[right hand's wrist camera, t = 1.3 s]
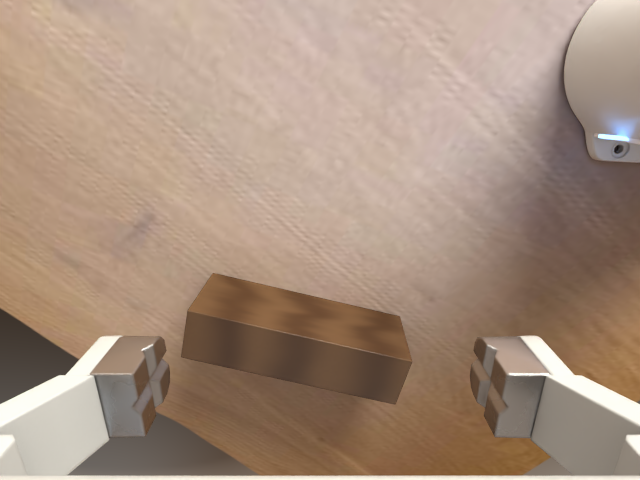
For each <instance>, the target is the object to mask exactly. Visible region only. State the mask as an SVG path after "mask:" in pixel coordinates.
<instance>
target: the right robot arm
mask: <svg viewBox="0 0 640 480" xmlns="http://www.w3.org/2000/svg"><path fill="white" fill-rule="evenodd" d="M564 85H565V92H566V96H567V99H568V102H569V104H570V107H571V109H572V111H573V112H574V114H575V115H576V117H577V118H578V120H579V121H580V123H581V124H582V126H583V128H584V130H585V137H586V145H587V150H588V153H589V155H590V157H591V158H593V159H595V160H599V161H614V162H635V163H640V0H596V1H595V2H594V3H593V4H592V6H591V7H590V8H589V9H588V11H587V12H586V13H585V15H584V16H583V18H582V19H581V21H580V23H579V24H578V26H577V28H576V30H575V32H574V34H573V36H572V39H571V42H570V44H569V47H568V51H567V55H566V60H565V67H564ZM617 145H618V146H619V148H618V150H617V151H616V152H614V148H615V147H616V146H617ZM165 352H166V346H165V341H164V339H163V338H162V337H155V336H103V337H100V338H99V339H98V340H97V341H96V342H95V343H94V344H93V345H92V347H91V348H90V349H89V350H88V351H87V352H86V353H85V354H84V355H83V357H82V358H81V359H80V360H79V361H78V362H77V363H76V364H75V365H74V366H73V368H72V369H71V370H70V371H69V372H68V373H67V374H66V375H59V376H57V377H55V378H53V379H51V380H49V381H47V382H45V383H43V384H41V385H39V386H37V387H35V388H32V389H30V390H28V391H26V392H24V393H22V394H20V395H18V396H16V397H14V398H12V399H10V400H8V401H6V402H4V403H2V404H0V480H640V404H638V403H636V402H634V401H632V400H630V399H628V398H626V397H624V396H622V395H620V394H618V393H616V392H614V391H612V390H610V389H608V388H605V387H603V386H601V385H599V384H597V383H595V382H593V381H591V380H589V379H587V378H585V377H583V376H581V375H574V374H573V373H572V372H571V371H570V370H569V369H568V367H567V366H566V365H565V364H564V363H563V362H562V361H561V360H560V359H559V358H558V356H557V355H556V354H555V353H554V352H553V351H552V350H551V349H550V348H549V347H548V345H547V344H546V343H545V342H544V341H543V340H542V339H541V338H540V337H538V336H536V335H535V336H516V337H477V340H476V342H475V346H474V352H475V354H476V356H477V357H478V359H477V360H476V361H475V362H474V363H473V364H472V365H471V372H470V381H471V388H472V392H473V395H474V397H475V399H476V401H477V402H478V403H479V404H480V405H482V406H483V407H485V412H484V417H485V419H486V421H487V423H488V425H489V427H490V429H491V430H492V432H493V434H494V436H495V437H509V438H531V440H532V441H533V442H534V443H535V444H536V445H538V446H539V447H540V448H541V449H542V450H544V451H545V452H546V453H547V454H548V455H550V456H551V457H552V458H553V459H554V460H556V461H557V462H558V463H559V464H560V465H562V466H563V467H564V468H565V469H566V470H568V471H569V472H570V473H571V474H572V475H574V476H67V475H68V474H69V473H70V472H71V471H73V470H74V469H75V468H76V467H77V466H79V465H80V464H81V463H82V462H83V461H85V460H86V459H87V458H88V457H89V456H91V455H92V454H93V453H94V452H96V451H97V450H98V449H99V448H100V447H102V446H103V445H104V444H105V443H106V442H108V441H109V438H130V437H145V436H146V434H147V433H148V431H149V429H150V427H151V425H152V423H153V421H154V419H155V417H156V412H155V407H157V406H158V405H160V404H161V403H163V401H164V399H165V397H166V395H167V392H168V388H169V383H170V370H169V365H168V364H167V363H166V362H165V361H164V360H163V359H162V357H163V356H164V354H165Z"/></svg>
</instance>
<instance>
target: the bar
mask: <svg viewBox="0 0 640 480" xmlns="http://www.w3.org/2000/svg"><path fill="white" fill-rule="evenodd" d="M181 357H183V358H187V359H192V360H196V361H201V362H205V363H210V364H214V365H219V366H223V367H228V368H232V369H237V370H241V371H246V372H250V373H255V374H259V375H264V376H268V377H273V378H277V379H282V380H286V381H291V382H295V383H300V384H305V385H309V386H314V387H318V388H323V389H327V390H332V391H336V392H341V393H345V394H350V395H354V396H359V397H363V398H368V399H372V400H377V401H381V402H386V403H390V404H396V402H397V399H398V397H399V394H400V392H401V389H402V386H403V384H404V381H405V379H406V376H407V374H408V371H409V369H410V366H411V364H412V359H411V355H410V352H409V348H408V344H407V341H406V337H405V334H404V330H403V327H402V323H401V319H400V317H399V316H396V315H391V314H387V313H383V312H378V311H374V310H370V309H365V308H361V307H357V306H353V305H348V304H344V303H340V302H335V301H331V300H327V299H322V298H318V297H314V296H310V295H305V294H301V293H297V292H292V291H288V290H284V289H279V288H275V287H271V286H266V285H262V284H258V283H254V282H249V281H245V280H241V279H236V278H232V277H228V276H223V275H219V274H215V273H213V274H212V275H211V277H210V278H209V280H208V281H207V283H206V284H205V286H204V287H203V289H202V290H201V292H200V293H199V295H198V296H197V298H196V299H195V300H194V302H193V303H192V305H191V306H190V308H189V309H188V311H187V318H186V326H185V333H184V340H183V347H182V354H181Z"/></svg>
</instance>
